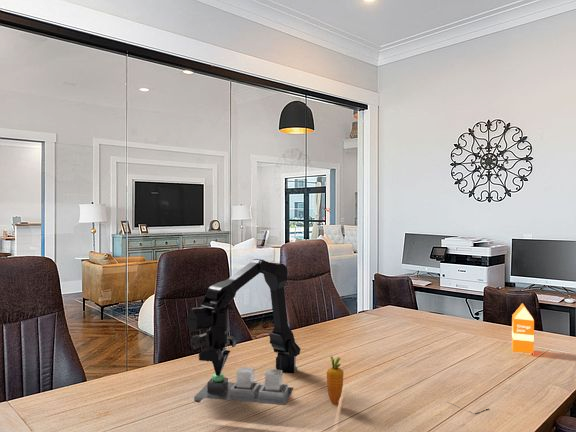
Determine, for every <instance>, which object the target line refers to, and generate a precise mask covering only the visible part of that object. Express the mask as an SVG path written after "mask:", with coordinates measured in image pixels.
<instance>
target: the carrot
mask: <svg viewBox="0 0 576 432" xmlns="http://www.w3.org/2000/svg"><path fill="white" fill-rule="evenodd" d="M330 360H331V366H332V367H329V368H328V369H327V371H326V387H327V395H328V397H329V400H330V402H331V404H334V405H337V404H338V403H339V401H340V398H341V396H342V392H343V386H344V370H343V369H342V368H340V366H342V364H341V363H339V362H340V361H341V357H339V356H337V357H336V360H335V358H334V357H333V355H332V356H330Z"/></svg>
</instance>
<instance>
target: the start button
mask: <svg viewBox="0 0 576 432" xmlns="http://www.w3.org/2000/svg"><path fill="white" fill-rule="evenodd" d="M211 378H212V381H214V382H221V381H223V380H224V378H225V375H224V373H221V374H220V375H219V376H217V375H216V373H213V374H212V375H211Z"/></svg>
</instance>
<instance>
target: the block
mask: <svg viewBox="0 0 576 432" xmlns="http://www.w3.org/2000/svg"><path fill="white" fill-rule="evenodd" d="M264 375H265V376H264V379H265V380H264V383H265V391H269V392H282V384H283V373H282V370H277V369H276V368H275V369H274V368H268V369H267V371H266V372H265V373H264Z"/></svg>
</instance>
